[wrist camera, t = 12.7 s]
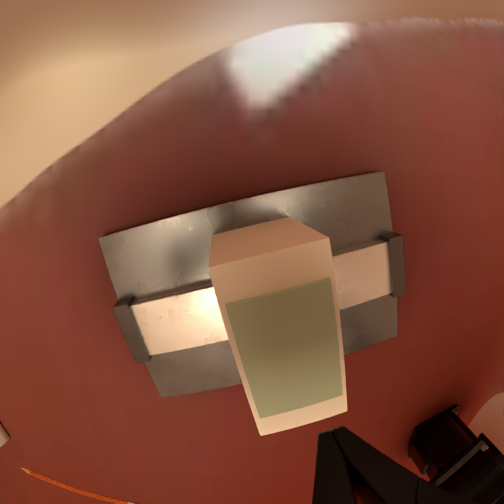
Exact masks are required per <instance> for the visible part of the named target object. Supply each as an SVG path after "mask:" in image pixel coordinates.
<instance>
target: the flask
mask: <svg viewBox="0 0 504 504" xmlns="http://www.w3.org/2000/svg"><path fill="white" fill-rule="evenodd" d="M9 439H10V437H9V436H8V434H7V433H6V431H5V430H4V428H3V427H2V425H1V424H0V447H1V446H2V445H4V444H5V443H6V442H7V441H8V440H9Z"/></svg>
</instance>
